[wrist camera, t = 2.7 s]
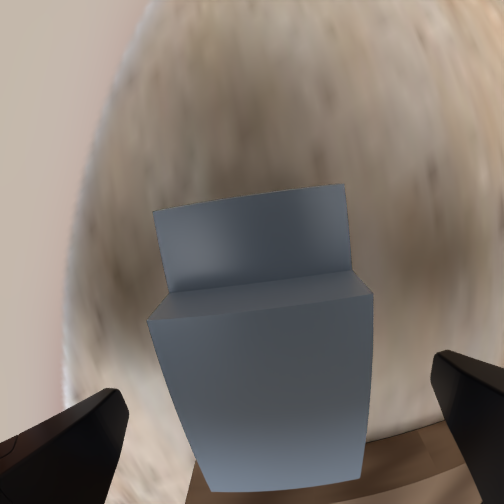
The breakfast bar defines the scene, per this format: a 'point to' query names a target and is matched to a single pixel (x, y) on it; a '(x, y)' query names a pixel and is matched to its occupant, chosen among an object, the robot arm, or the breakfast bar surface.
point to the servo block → (266, 338)
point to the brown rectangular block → (376, 476)
